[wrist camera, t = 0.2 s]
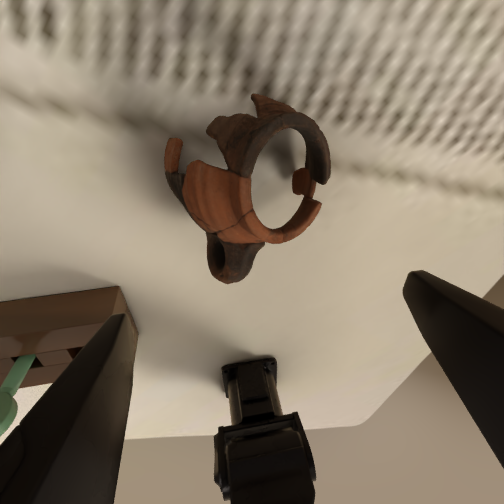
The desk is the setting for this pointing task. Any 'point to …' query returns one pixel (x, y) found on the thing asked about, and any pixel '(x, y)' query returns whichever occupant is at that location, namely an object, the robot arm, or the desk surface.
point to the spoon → (12, 390)
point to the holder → (54, 330)
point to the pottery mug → (245, 185)
